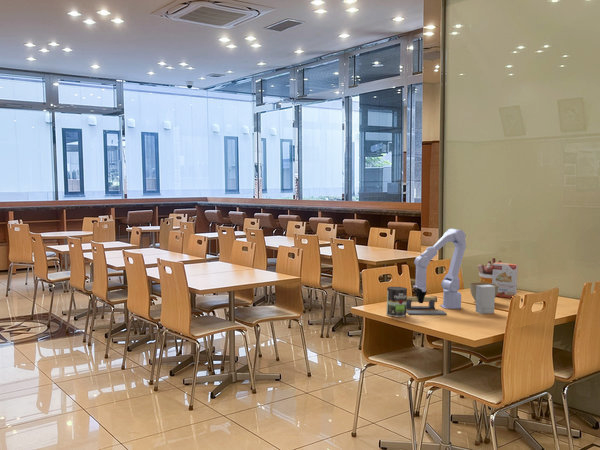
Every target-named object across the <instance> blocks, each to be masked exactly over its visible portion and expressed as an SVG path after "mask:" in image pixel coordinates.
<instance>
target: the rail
mask: <svg viewBox="0 0 600 450" xmlns="http://www.w3.org/2000/svg"><path fill="white" fill-rule="evenodd" d="M407 300H412V302H413V303H419V301H418V297H416V296H407ZM407 300H406V302H407ZM430 300H435V303H438V297H437V296H425V297H424V301H423V303H429V302H430ZM412 302H411V303H412Z"/></svg>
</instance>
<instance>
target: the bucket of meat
mask: <svg viewBox="0 0 600 450" xmlns="http://www.w3.org/2000/svg"><path fill="white" fill-rule="evenodd" d="M491 261H492V262H491ZM496 261H497V260H496V258H495V257H492V259H491V260H488V262H487V264H486V265H484V264H477V268H478V275H479V281H480V283H492V276H493V263H495V262H496ZM497 263H502V260H498V262H497Z"/></svg>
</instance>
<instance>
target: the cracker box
mask: <svg viewBox="0 0 600 450" xmlns="http://www.w3.org/2000/svg"><path fill="white" fill-rule="evenodd" d="M492 265H493V276H492V284H497V285H499V287H498V293H497V295H496V297H501V298H509V299H512V298H511V297H512V296H514V295H516V296H517V291H518V290H517V288H518V271H519V270H518V268H519V267H518V266H519V265H518V264H517V263H516V264H515V263H508V262H506V263H505V262H501V263H498V262H495V263H492Z"/></svg>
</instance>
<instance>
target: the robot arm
mask: <svg viewBox="0 0 600 450" xmlns="http://www.w3.org/2000/svg"><path fill="white" fill-rule="evenodd" d="M466 237H467V235H466V233H465V232H464V230H462V229H457V228H448V229H447V231H445V232H444V233H443V234H442V237H440V238H439V239H438V240H437V241H436V242H435V244H433V245H432V246H427V247H426V249H425V250H424V252H422V253H420V255H419V256H417V257H415V259H414V261H413V264H414V265H415V282H414V283H415V285H412V286H413V288H414V289H413V291H414V293H415V297H418V301H419V302H418V303H419V304H423V303H424V302H423V301H424V297H426V294H427V293H428V291H427V270H428V269H427V268H428V266H429V264H430V261H432V259H434V258H435V257H436V256H437V255H438V251H439V250H440V249H442V248H443V247H444V246H445V245H446V244H447V243H451V242H452V243H453V245H454V250H453V253H452V257H451V262H450V265H449V268H448V272H447V274H445V275H444V278H443V280H442V281H441V288H442V291H443V294H442V295H443V297H442V304H440V307H442V308H444V309H447V310H448V309H454V310H457V309H460V310H461V309H462V293H461V292H460V291H459V290H460V281H461V280H460V277H459V272H460V269H461V265H462V261H463V258H464V254H465V251H466V248H467V247H466V246H467V242H466Z"/></svg>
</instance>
